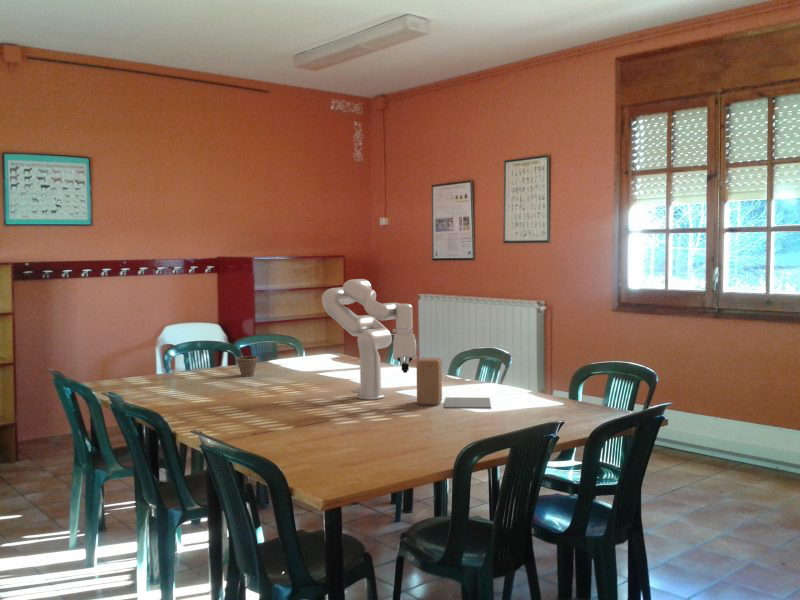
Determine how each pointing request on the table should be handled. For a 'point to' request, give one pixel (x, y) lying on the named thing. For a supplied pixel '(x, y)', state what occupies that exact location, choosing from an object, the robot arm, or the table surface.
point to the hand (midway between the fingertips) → (405, 372)
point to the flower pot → (247, 365)
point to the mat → (467, 402)
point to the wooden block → (429, 381)
